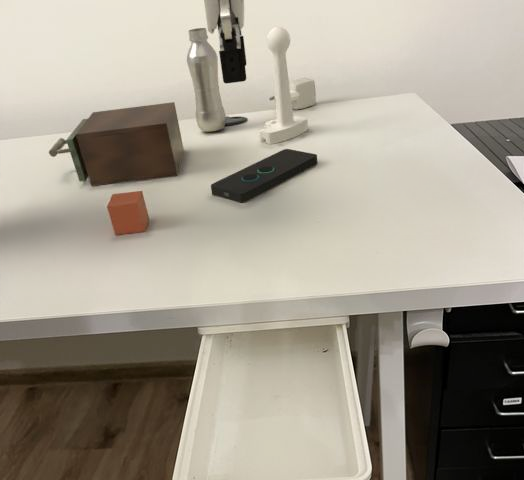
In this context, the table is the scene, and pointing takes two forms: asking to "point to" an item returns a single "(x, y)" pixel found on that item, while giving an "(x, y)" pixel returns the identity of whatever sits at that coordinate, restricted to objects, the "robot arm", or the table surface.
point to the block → (128, 212)
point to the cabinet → (131, 144)
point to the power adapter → (301, 93)
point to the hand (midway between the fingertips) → (235, 74)
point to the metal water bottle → (205, 81)
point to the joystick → (282, 94)
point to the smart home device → (263, 175)
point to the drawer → (72, 152)
